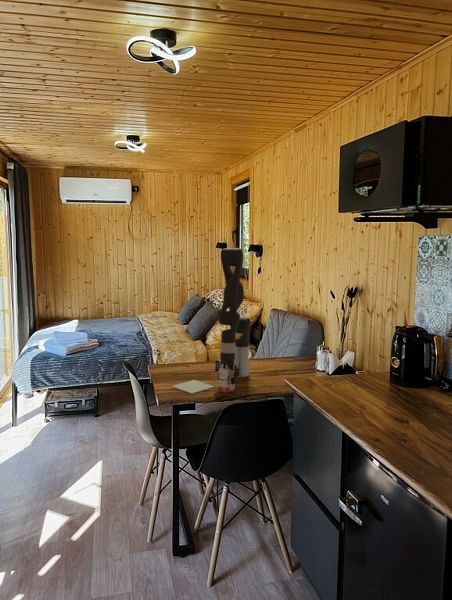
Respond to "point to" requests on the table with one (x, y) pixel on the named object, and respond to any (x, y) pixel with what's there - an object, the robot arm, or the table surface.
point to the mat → (193, 386)
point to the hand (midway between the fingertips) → (226, 382)
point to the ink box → (225, 381)
